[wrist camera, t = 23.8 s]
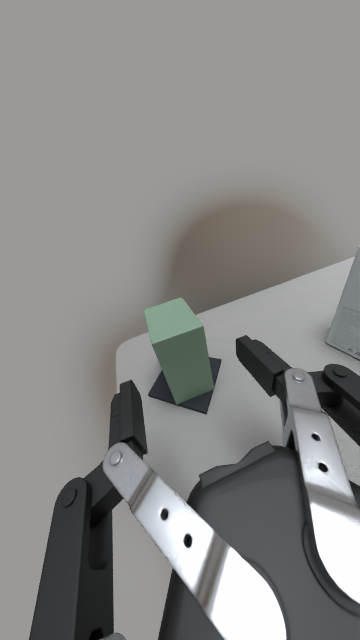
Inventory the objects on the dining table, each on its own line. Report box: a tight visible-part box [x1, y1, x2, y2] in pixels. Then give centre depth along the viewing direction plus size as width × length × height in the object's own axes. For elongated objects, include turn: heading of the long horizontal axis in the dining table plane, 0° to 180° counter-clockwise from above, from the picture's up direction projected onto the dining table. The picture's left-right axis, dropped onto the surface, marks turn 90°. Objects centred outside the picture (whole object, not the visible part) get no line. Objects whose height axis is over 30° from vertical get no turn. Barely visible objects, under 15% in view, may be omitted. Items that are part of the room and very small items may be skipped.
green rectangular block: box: [144, 298, 214, 404], centre depth 21 cm, size 7×5×10 cm
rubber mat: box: [148, 357, 221, 414], centre depth 24 cm, size 8×8×1 cm
